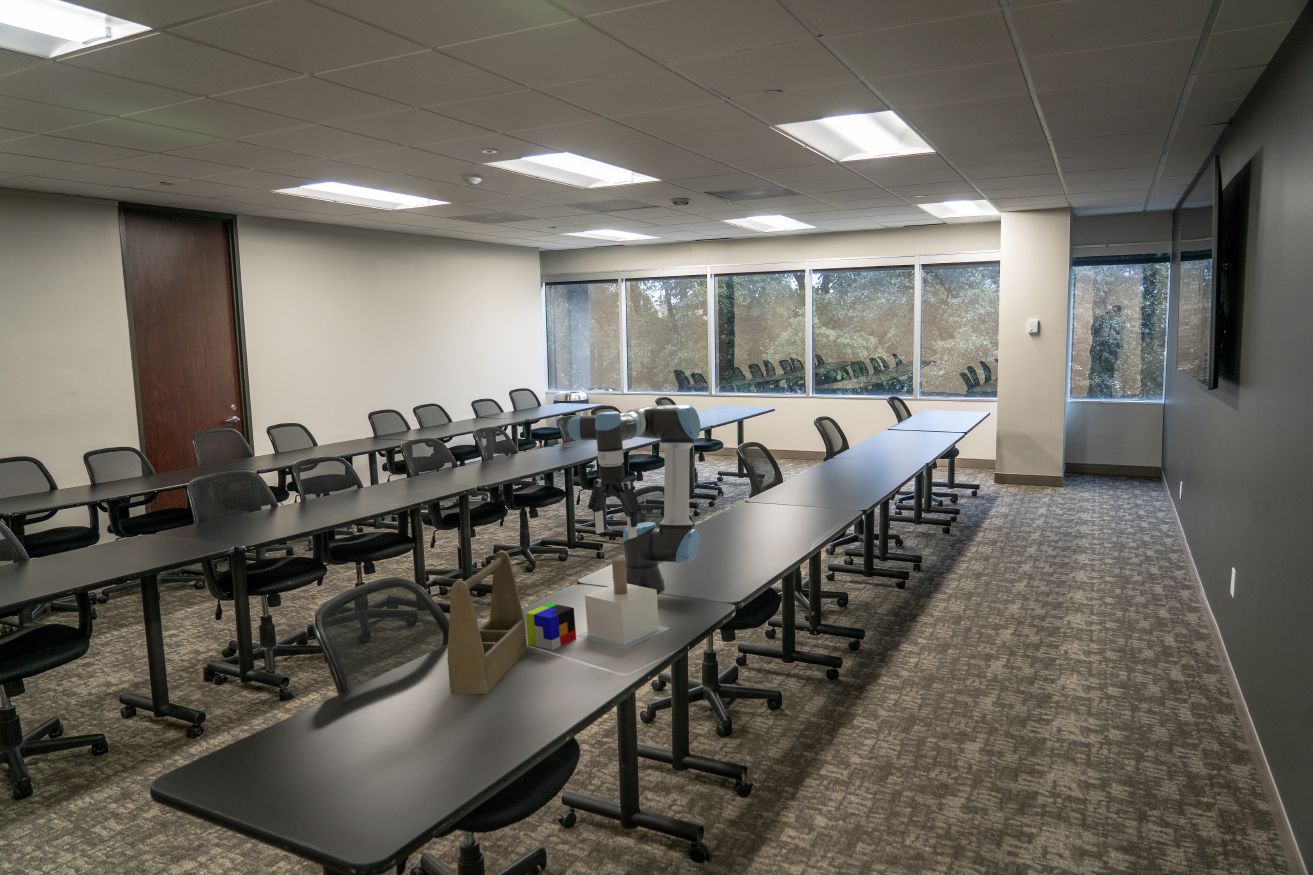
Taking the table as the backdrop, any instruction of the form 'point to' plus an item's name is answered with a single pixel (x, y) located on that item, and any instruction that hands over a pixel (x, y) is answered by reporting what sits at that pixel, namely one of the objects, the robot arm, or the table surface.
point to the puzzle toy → (551, 626)
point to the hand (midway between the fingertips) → (616, 535)
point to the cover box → (621, 609)
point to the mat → (661, 629)
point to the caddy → (485, 631)
